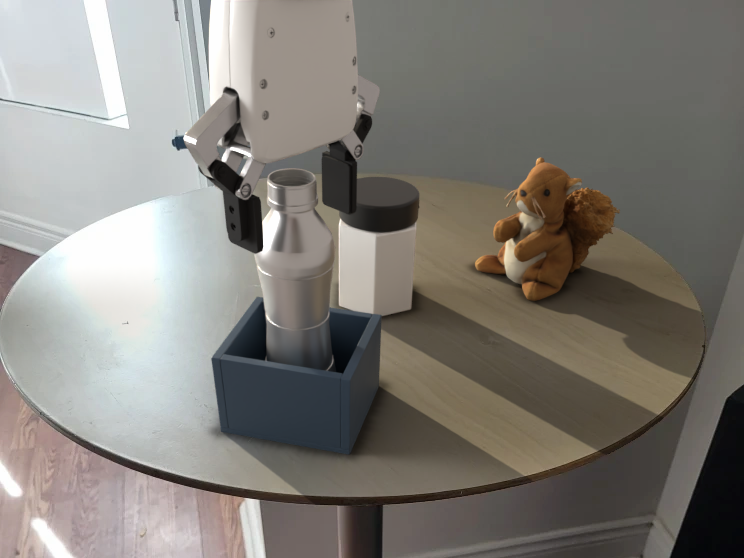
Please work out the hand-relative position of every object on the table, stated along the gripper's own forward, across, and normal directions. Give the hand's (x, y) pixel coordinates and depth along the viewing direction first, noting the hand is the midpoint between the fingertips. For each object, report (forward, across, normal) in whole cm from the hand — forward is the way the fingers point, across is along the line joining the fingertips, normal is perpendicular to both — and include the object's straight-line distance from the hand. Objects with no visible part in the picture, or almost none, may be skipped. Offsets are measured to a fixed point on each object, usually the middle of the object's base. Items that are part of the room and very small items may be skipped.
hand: (294, 227), depth 59 cm
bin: (+17, 0, 0) cm, 17 cm away
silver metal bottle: (+16, 0, 0) cm, 16 cm away
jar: (+17, -20, -9) cm, 28 cm away
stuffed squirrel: (+17, -38, +1) cm, 42 cm away
